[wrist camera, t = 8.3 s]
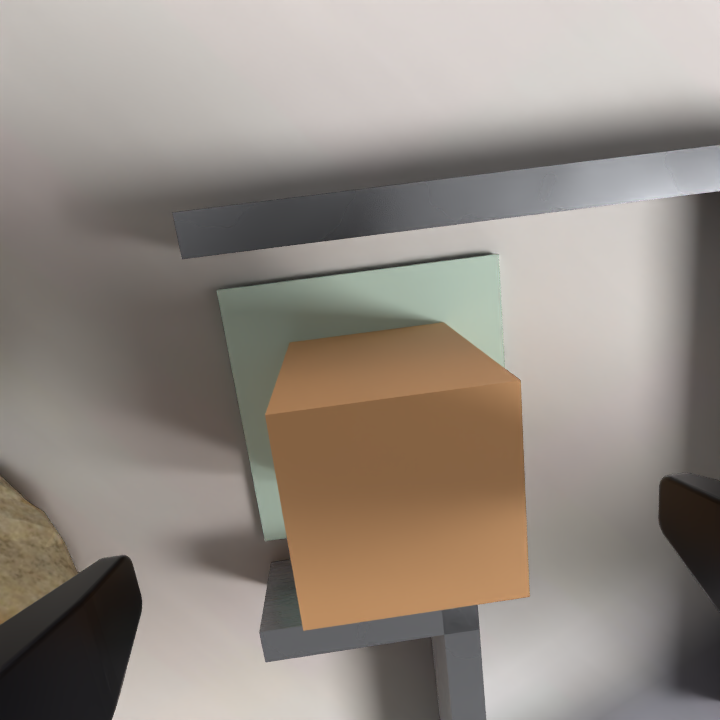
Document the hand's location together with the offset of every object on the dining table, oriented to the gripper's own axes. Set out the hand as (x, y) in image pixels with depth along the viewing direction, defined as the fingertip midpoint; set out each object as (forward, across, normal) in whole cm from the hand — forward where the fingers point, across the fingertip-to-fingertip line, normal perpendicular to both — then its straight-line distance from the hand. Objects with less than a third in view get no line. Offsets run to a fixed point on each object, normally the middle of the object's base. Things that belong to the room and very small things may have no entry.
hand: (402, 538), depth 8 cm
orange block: (+7, 0, 0) cm, 7 cm away
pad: (+7, 0, 0) cm, 7 cm away
